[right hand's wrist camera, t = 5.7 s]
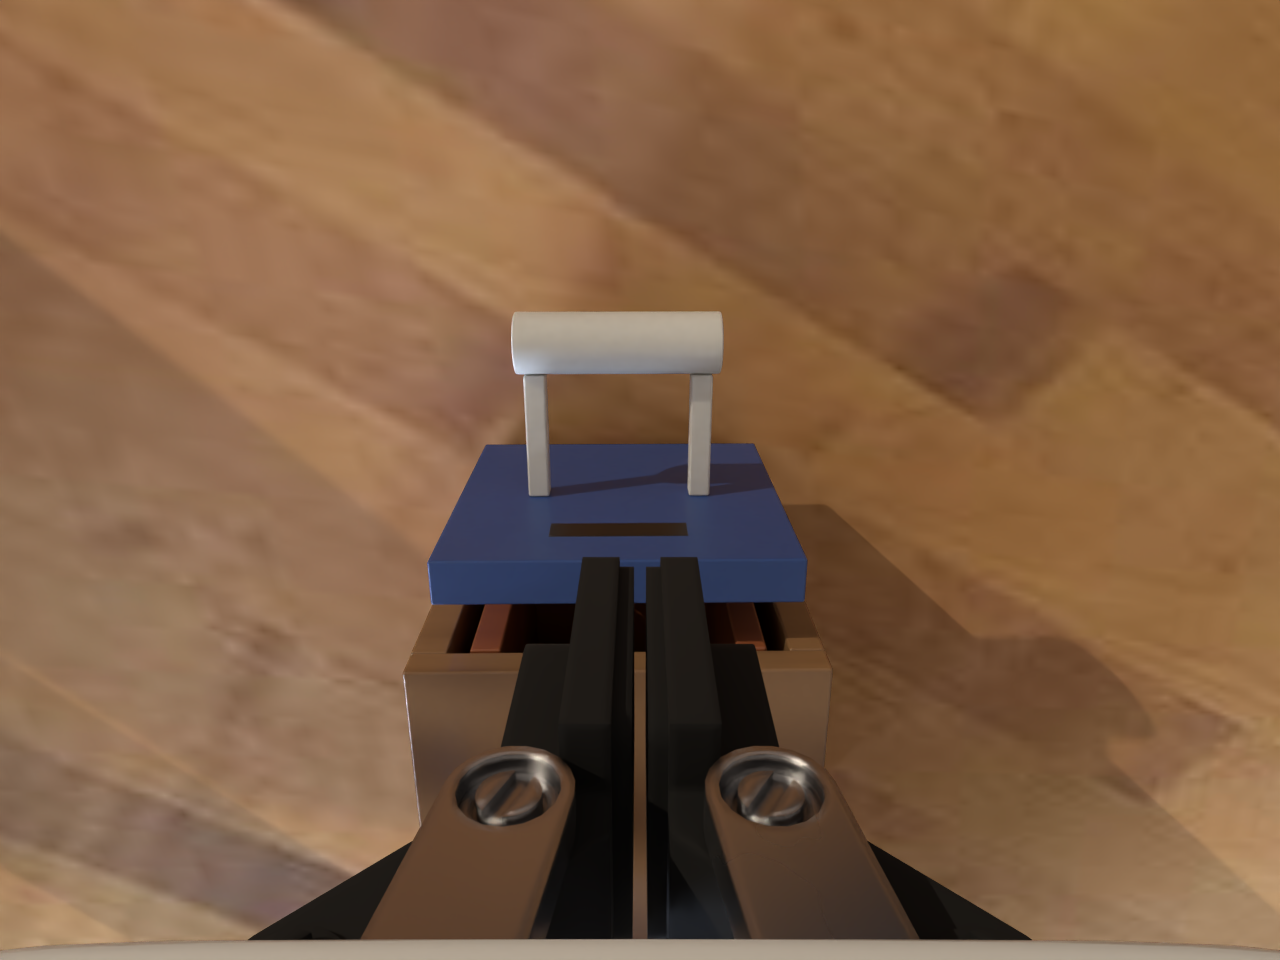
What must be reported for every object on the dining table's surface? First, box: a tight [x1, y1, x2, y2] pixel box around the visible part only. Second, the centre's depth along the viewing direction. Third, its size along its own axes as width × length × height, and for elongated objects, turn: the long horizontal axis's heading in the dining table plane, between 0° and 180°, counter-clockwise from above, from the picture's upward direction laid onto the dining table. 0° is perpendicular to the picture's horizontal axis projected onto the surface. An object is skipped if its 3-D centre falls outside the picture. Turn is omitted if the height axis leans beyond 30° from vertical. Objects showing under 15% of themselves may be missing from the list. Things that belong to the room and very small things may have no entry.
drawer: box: [427, 311, 808, 653], centre depth 27 cm, size 20×9×9 cm, turn 0°
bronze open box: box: [403, 601, 833, 939], centre depth 29 cm, size 16×10×11 cm, turn 0°
